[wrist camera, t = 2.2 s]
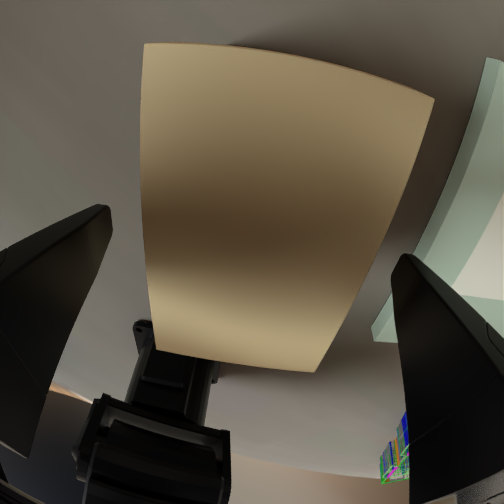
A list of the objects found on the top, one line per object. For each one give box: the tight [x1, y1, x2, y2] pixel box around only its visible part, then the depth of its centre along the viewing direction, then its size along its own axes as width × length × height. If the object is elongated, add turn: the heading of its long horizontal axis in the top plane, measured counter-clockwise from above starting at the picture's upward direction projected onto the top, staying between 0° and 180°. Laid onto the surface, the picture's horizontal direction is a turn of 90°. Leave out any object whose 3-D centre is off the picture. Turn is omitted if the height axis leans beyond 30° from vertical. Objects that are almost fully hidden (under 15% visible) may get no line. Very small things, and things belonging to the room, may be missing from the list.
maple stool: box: [140, 42, 435, 372], centre depth 11 cm, size 10×6×7 cm, turn 172°
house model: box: [380, 412, 409, 484], centre depth 31 cm, size 35×30×5 cm
